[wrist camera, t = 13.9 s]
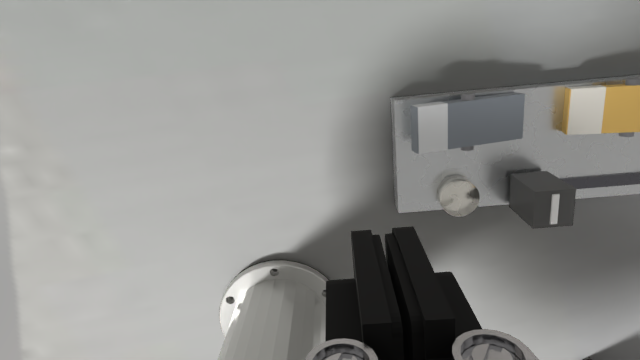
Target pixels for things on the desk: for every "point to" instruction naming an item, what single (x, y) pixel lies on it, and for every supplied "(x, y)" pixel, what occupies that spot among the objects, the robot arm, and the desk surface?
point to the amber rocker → (602, 109)
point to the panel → (511, 155)
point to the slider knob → (542, 199)
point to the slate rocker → (466, 122)
